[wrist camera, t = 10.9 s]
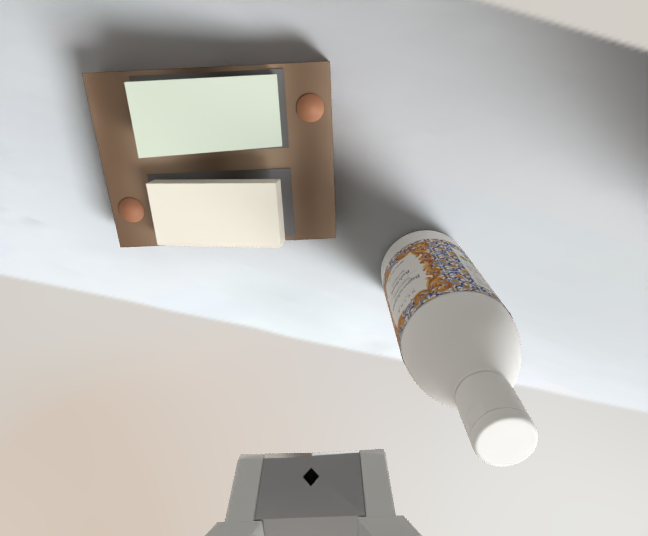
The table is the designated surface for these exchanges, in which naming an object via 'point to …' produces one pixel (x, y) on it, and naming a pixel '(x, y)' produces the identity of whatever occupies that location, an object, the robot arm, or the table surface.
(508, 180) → the table surface
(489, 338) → the bath foam
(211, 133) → the block
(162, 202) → the block
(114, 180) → the switch plate
